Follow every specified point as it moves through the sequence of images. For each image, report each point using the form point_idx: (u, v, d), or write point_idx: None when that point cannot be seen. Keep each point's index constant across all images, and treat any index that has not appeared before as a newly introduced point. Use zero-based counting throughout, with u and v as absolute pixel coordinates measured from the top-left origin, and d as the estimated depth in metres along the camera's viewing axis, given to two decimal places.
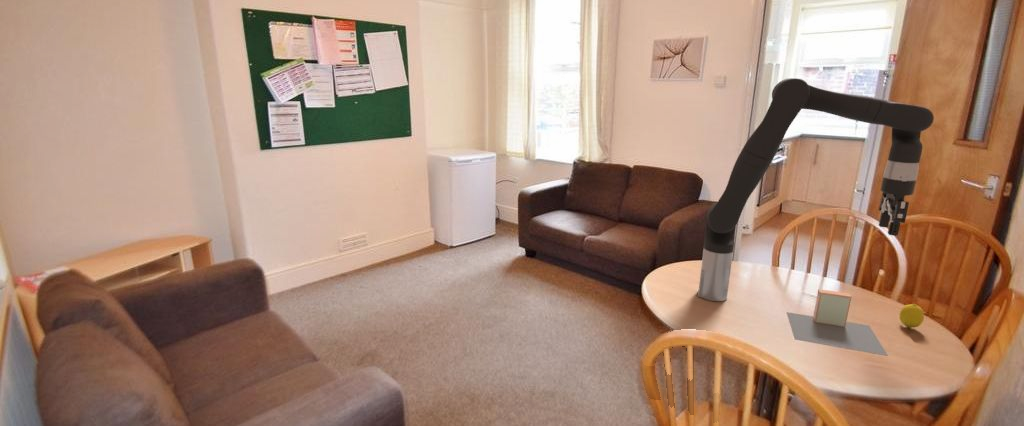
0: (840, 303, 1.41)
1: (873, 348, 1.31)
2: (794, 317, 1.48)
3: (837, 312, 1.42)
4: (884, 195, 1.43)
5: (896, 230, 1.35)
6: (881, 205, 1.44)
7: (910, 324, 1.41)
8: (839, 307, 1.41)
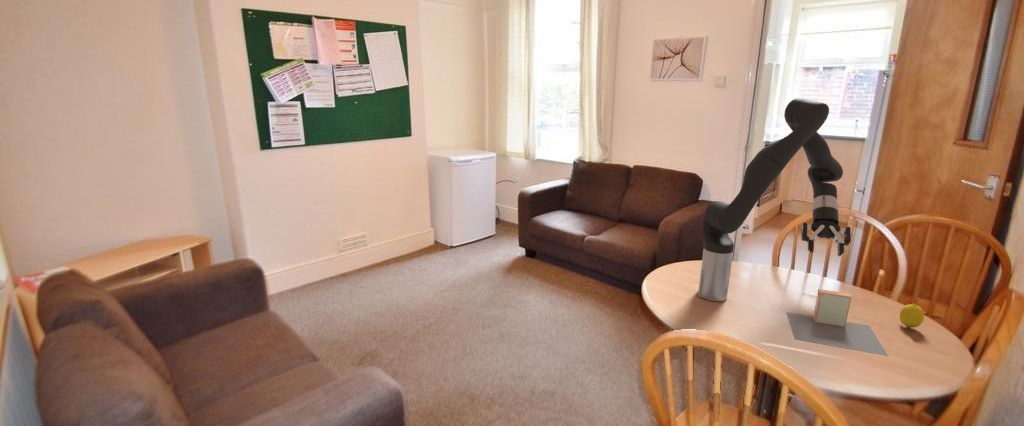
0: (840, 303, 1.41)
1: (873, 348, 1.31)
2: (794, 317, 1.48)
3: (837, 312, 1.42)
4: (806, 225, 1.63)
5: None
6: None
7: (910, 324, 1.41)
8: (839, 307, 1.41)
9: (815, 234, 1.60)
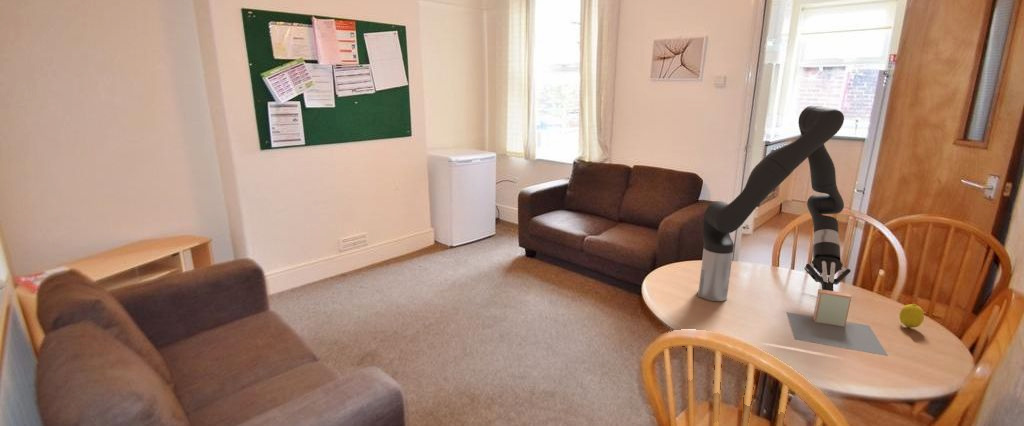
0: (840, 303, 1.41)
1: (873, 348, 1.31)
2: (794, 317, 1.48)
3: (837, 312, 1.42)
4: None
5: (832, 290, 1.50)
6: (817, 273, 1.53)
7: (910, 324, 1.41)
8: (839, 307, 1.41)
9: (825, 274, 1.52)
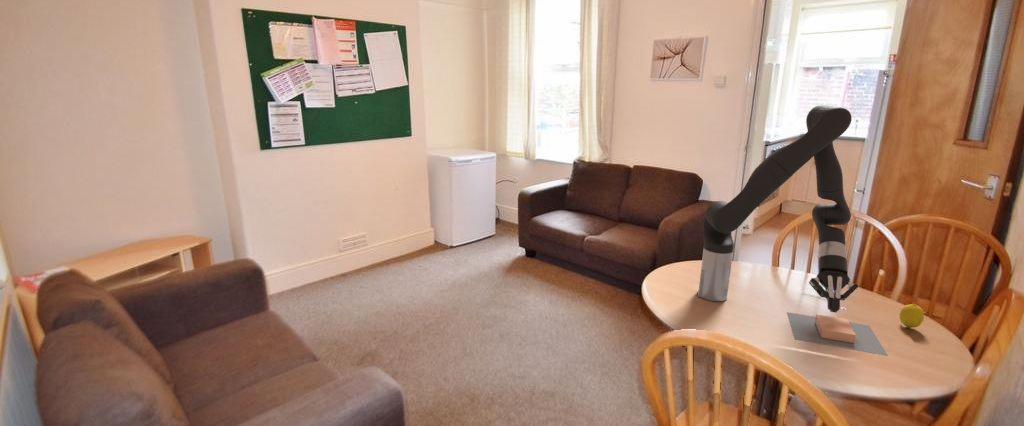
0: None
1: (873, 348, 1.31)
2: (794, 317, 1.48)
3: None
4: None
5: None
6: None
7: (910, 324, 1.41)
8: None
9: (831, 289, 1.43)
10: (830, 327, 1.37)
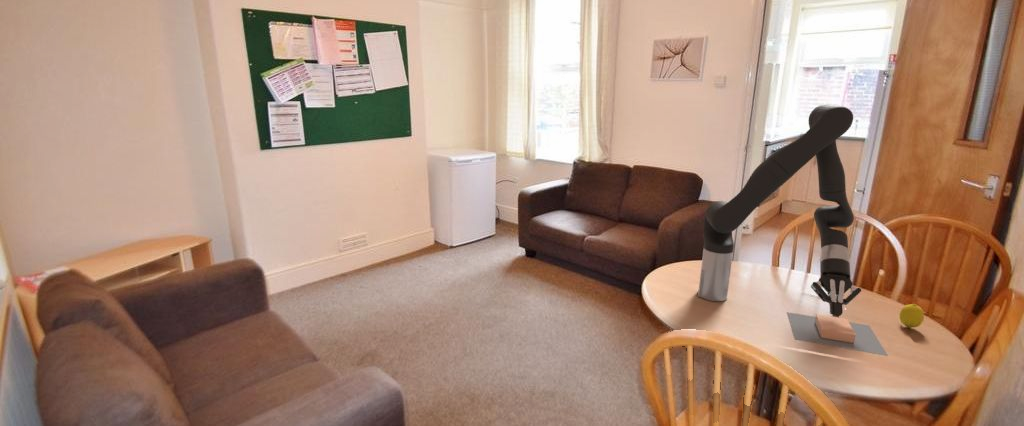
0: None
1: (873, 348, 1.31)
2: (794, 317, 1.48)
3: None
4: None
5: None
6: None
7: (910, 324, 1.41)
8: None
9: (833, 293, 1.40)
10: (830, 327, 1.37)
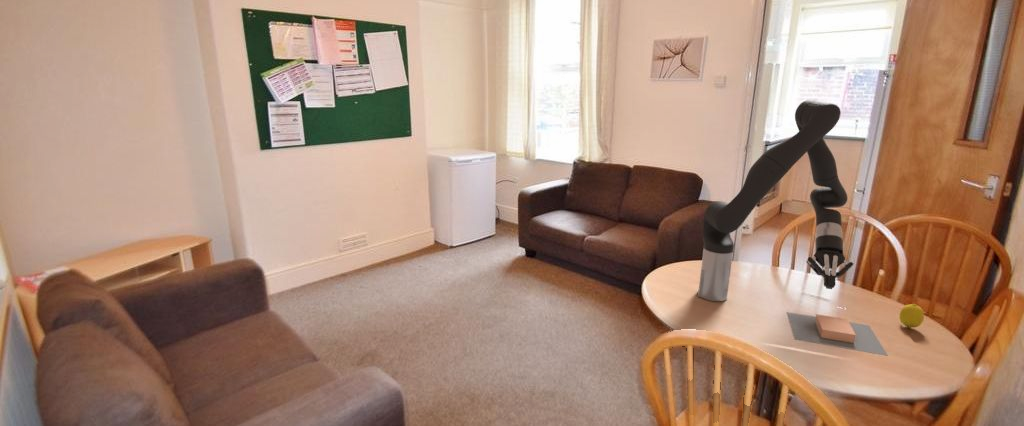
0: None
1: (873, 348, 1.31)
2: (794, 317, 1.48)
3: None
4: None
5: None
6: (819, 266, 1.51)
7: (910, 324, 1.41)
8: None
9: (827, 267, 1.50)
10: (830, 327, 1.37)
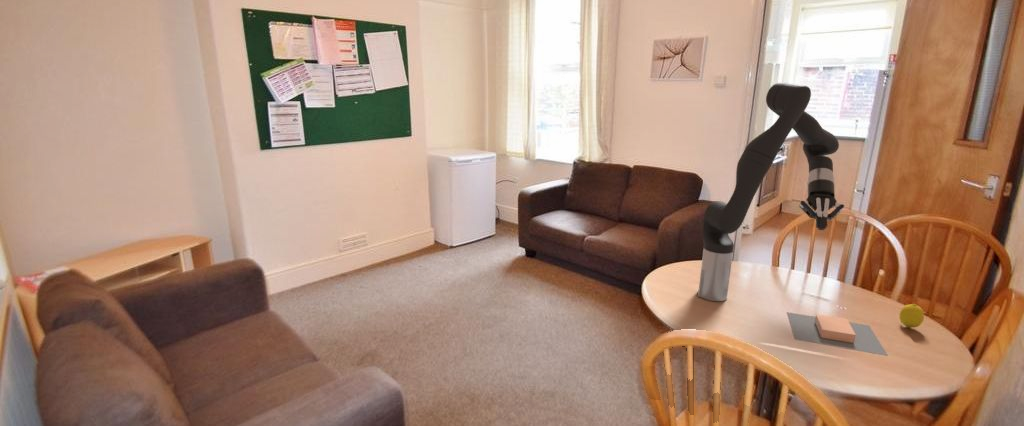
0: None
1: (873, 348, 1.31)
2: (794, 317, 1.48)
3: None
4: None
5: None
6: None
7: (910, 324, 1.41)
8: None
9: (819, 209, 1.55)
10: (830, 327, 1.37)
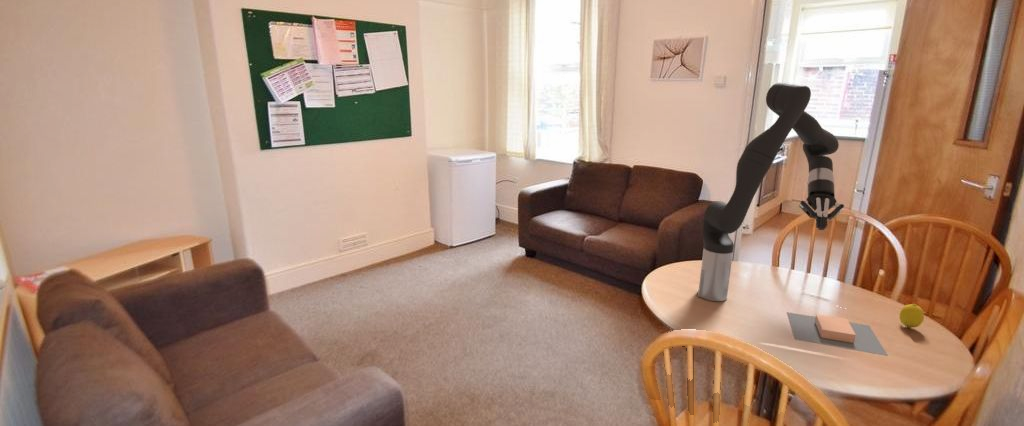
0: None
1: (873, 348, 1.31)
2: (794, 317, 1.48)
3: None
4: None
5: None
6: None
7: (910, 324, 1.41)
8: None
9: (819, 209, 1.55)
10: (830, 327, 1.37)
